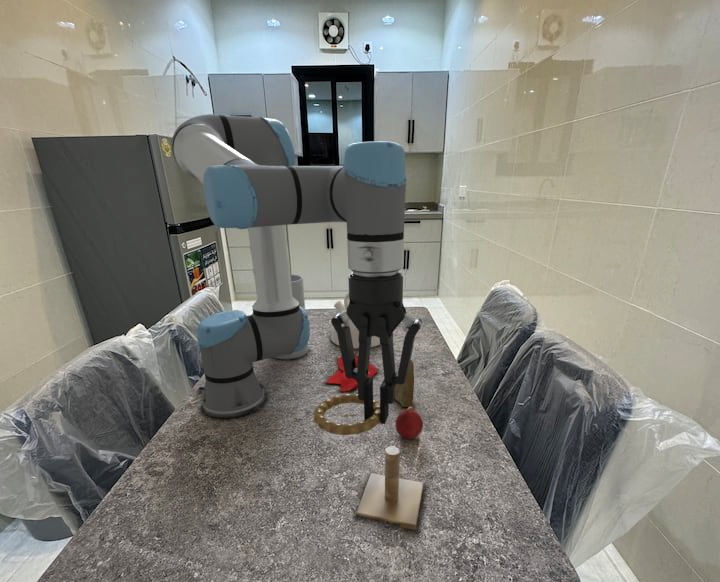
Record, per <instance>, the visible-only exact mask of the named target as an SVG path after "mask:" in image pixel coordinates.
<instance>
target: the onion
mask: <svg viewBox="0 0 720 582" xmlns="http://www.w3.org/2000/svg"><path fill="white" fill-rule="evenodd" d="M394 424H395V430H396V432H397V434H398V435H399V436H401V438H404V439H407V440H408V439H409V440H410V439H413V438H416V437H418V436H419V435H420V434H421V433H422V430H423V427H424V422H423V419H422V417H421V415H420V414H419V413H418V412H417V411H415V410H414V407H413V406H411V407H407V409H404V410H402V411H401V412H400V413H399V414H398V415H397V417H396V419H395V423H394Z"/></svg>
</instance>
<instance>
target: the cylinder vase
mask: <svg viewBox="0 0 720 582" xmlns="http://www.w3.org/2000/svg"><path fill="white" fill-rule="evenodd" d="M290 278H291V288H292V296H293V298H295V299H296V300H297V301H298V302H299V306H300V307H302V308H304V309H305V310H306V303H305V292H304V291H305V290H304V289H305V288H304V277H303V276H302V275H300V274H293V273H290ZM308 351H309V342H308V343H307V345H306V346H305V348H304V349H303V350H301V351H297V352H294V353H292V354H290V355H282V356H278V357H274V358H275V359H277V360H294V359H298V358H301V357H303V356H305V355H306V354H307V353H308Z"/></svg>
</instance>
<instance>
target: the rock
mask: <svg viewBox="0 0 720 582" xmlns="http://www.w3.org/2000/svg"><path fill="white" fill-rule="evenodd" d="M414 365H415V363H414V361H413V360H412V359H411V360H410V365H409V370H408V375H407V378H406V380H405V382H404V384H396V385H395V398H394V400H396V401H397V402H398V403H399V404H400V406H401V407H403V408H406V407H407V408H409V407H412V404H413V401H414V391H415V366H414ZM398 371H399V367H398V369H396V373H398Z"/></svg>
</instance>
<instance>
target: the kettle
mask: <svg viewBox="0 0 720 582" xmlns="http://www.w3.org/2000/svg"><path fill="white" fill-rule="evenodd" d="M348 305H349V291H348V292H347V293H346V295H345V296H344V299H343V302H342V300H338V301H337V302H335V303H334V305H333V308H334V309H336V311H337V313H343V312H345V311H346V310H347V307H348ZM331 325H332V324H331ZM349 327H350V331H351V337H352V342H353V348H354V350H359V331H358V329H357V328H356V326H355V325H354V324H353V322H352V321H351V320H350V324H349ZM330 340H331V341H332V343H334V344H335V345H337V346H338V347H340V345H339V340H338V335H337V332H336V330H335V328H334V327H333V325H332V326H331V336H330ZM378 346H381V345H380V339H379V337H376V336H372V338H371V348H374V347H378Z"/></svg>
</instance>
